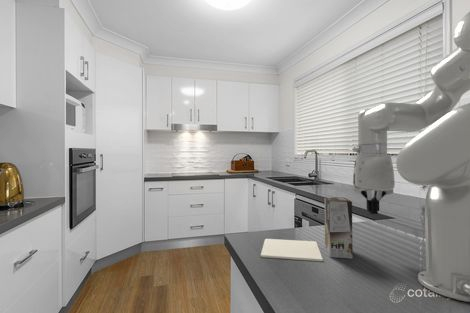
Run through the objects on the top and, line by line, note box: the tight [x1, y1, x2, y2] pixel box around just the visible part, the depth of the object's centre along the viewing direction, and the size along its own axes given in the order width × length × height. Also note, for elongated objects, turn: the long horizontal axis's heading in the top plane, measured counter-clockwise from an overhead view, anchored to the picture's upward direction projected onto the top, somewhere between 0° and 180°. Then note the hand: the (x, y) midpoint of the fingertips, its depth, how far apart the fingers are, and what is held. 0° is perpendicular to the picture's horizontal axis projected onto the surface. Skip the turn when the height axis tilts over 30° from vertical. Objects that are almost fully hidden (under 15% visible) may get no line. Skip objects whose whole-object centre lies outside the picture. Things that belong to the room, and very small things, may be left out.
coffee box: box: [324, 196, 354, 260], centre depth 76 cm, size 9×6×16 cm
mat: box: [260, 238, 324, 262], centre depth 78 cm, size 16×17×1 cm
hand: (372, 213), depth 74 cm, fingers closed
